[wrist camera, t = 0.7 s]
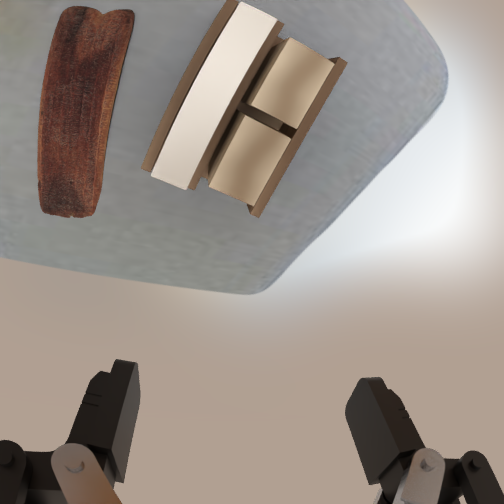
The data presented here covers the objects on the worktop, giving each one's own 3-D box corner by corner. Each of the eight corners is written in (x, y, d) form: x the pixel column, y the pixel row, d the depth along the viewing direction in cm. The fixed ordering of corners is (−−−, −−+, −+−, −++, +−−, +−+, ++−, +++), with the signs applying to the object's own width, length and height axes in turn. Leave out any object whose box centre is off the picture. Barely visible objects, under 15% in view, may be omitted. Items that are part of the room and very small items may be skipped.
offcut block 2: (207, 165, 34) (208, 186, 28) (236, 109, 32) (245, 115, 25) (243, 181, 36) (253, 206, 29) (273, 127, 33) (291, 139, 26)
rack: (152, 153, 34) (140, 168, 28) (224, 13, 27) (228, -3, 21) (249, 194, 38) (259, 217, 32) (322, 65, 31) (347, 62, 25)
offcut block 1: (240, 101, 31) (250, 105, 24) (271, 47, 29) (290, 37, 22) (277, 119, 33) (296, 129, 26) (307, 67, 30) (334, 63, 23)
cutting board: (174, 136, 32) (150, 175, 18) (225, 39, 28) (241, 1, 14) (194, 144, 33) (185, 190, 19) (245, 48, 28) (277, 19, 15)
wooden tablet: (97, 226, 36) (26, 217, 33) (100, 219, 38) (32, 210, 34) (140, 7, 25) (58, 3, 21) (141, 11, 26) (63, 7, 23)
